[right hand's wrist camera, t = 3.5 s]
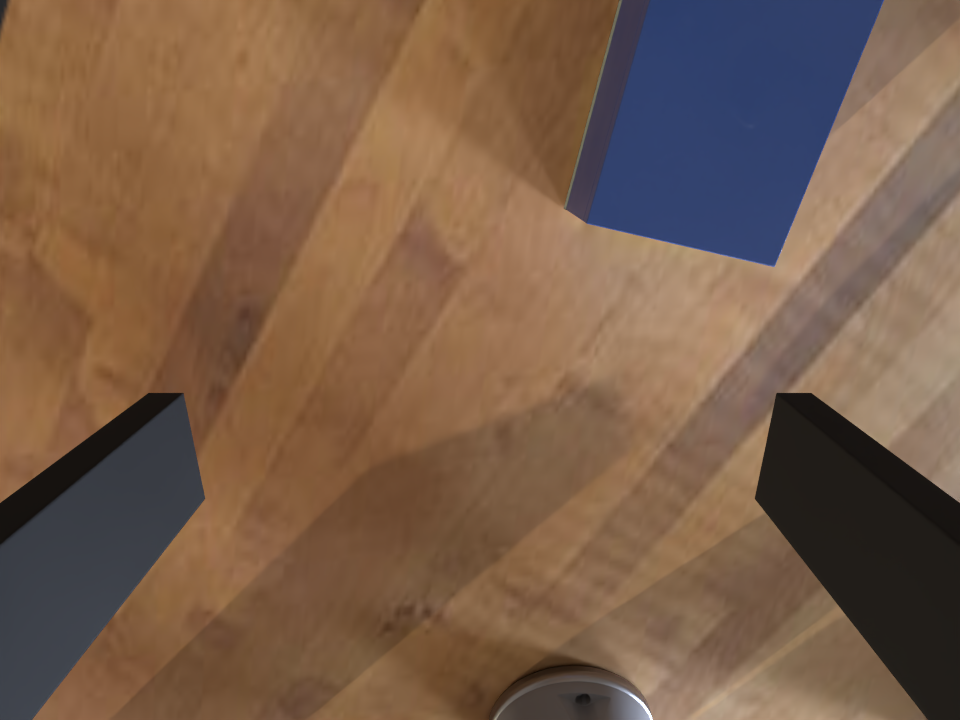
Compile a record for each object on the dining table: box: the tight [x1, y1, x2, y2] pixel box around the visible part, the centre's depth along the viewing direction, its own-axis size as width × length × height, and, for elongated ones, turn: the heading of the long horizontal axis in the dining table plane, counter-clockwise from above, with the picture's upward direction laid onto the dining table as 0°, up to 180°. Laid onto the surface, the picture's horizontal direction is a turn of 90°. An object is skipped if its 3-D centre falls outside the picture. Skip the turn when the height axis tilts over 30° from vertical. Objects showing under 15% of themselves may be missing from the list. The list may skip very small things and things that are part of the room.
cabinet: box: [564, 0, 884, 267], centre depth 30 cm, size 17×10×8 cm, turn 167°
